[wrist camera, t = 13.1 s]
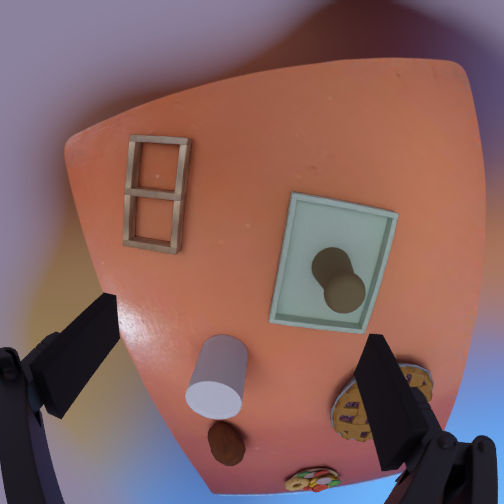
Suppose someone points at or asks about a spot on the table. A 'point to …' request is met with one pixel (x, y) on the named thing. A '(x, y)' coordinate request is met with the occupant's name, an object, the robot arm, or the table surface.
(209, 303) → the table surface
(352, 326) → the tray
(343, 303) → the brown pawn
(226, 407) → the cup
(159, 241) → the two-slot wooden frame
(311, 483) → the toy food set
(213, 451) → the potato
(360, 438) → the pie
